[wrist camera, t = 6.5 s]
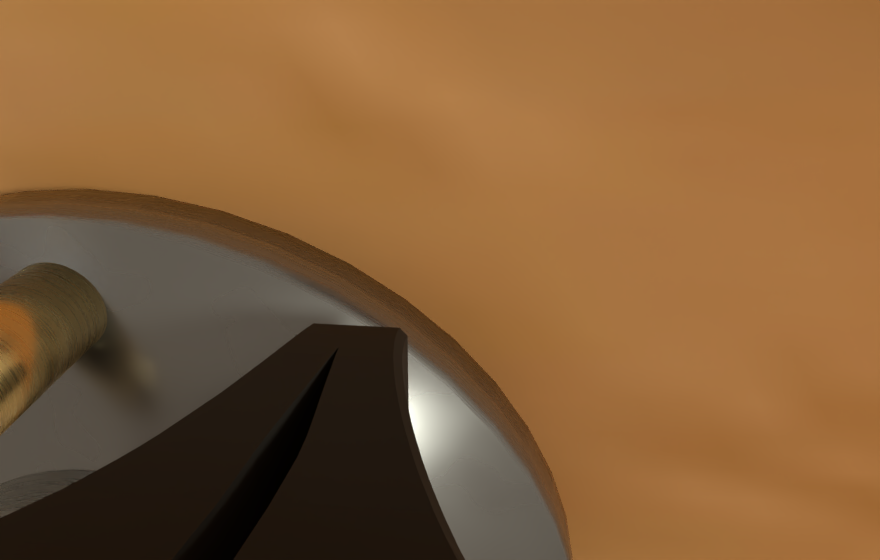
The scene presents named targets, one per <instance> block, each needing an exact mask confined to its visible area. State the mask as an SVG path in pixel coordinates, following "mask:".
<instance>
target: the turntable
mask: <svg viewBox="0 0 880 560" xmlns="http://www.w3.org/2000/svg"><path fill="white" fill-rule="evenodd" d="M313 323H318V324H338V325H357V326H376V327H395V328H400V329H401V330H402V331H403V332H404V333H405V334H406V335H407V336H408V393H409V413H410V418H411V422H412V426H413V430H414V434H415V437H416V441H417V444H418V447H419V450H420V454H421V457H422V460H423V463H424V466H425V469H426V472H427V475H428V477H429V480H430V483H431V485H432V488H433V491H434V493H435V495H436V498H437V500H438V503H439V505H440V507H441V510H442V512H443V515H444V517H445V519H446V521H447V523H448V525H449V528H450V530H451V532H452V534H453V536H454V538H455V540H456V543H457V545H458V547H459V549H460V551H461V553H462V555H463V556H464V558H465V560H573V558H572V551H571V545H570V538H569V532H568V525H567V519H566V514H565V511H564V508H563V505H562V502H561V499H560V496H559V493H558V490H557V487H556V484H555V481H554V478H553V475H552V472H551V470H550V468H549V466H548V465H547V463H546V461H545V459H544V457H543V455H542V453H541V451H540V449H539V447H538V445H537V443H536V442H535V440H534V438H533V436H532V434H531V432H530V430H529V428H528V427H527V425H526V424H525V422H524V421H523V420H522V418H521V417H520V415H519V414H518V413H517V411H516V410H515V409H514V407H513V406H512V404H511V403H510V402H509V400H508V399H507V398H506V396H505V395H504V393H503V392H502V391H501V389H500V388H499V386H498V385H497V384H496V382H495V381H494V380H493V379H492V378H491V377H490V376H489V375H488V374H487V373H486V372H485V371H484V370H483V369H482V368H481V367H480V366H479V365H478V364H477V362H476V361H475V360H474V359H473V358H472V357H471V356H470V355H469V354H468V353H467V352H466V351H465V350H464V349H463V348H462V347H461V346H460V345H459V344H458V342H457V341H456V340H455V339H453V338H452V337H451V336H450V335H448V334H447V333H446V332H445V331H444V330H442V329H441V328H440V327H439V326H437V325H436V324H435V323H434V322H433V321H431V320H430V319H429V318H428V317H426V316H425V315H424V314H423V313H422V312H420V311H419V310H418V309H417V308H415V307H414V306H413V305H412V304H411V303H409V302H408V301H407V300H406V299H404V298H402V297H401V296H399V295H398V294H396V293H395V292H393V291H391V290H390V289H388V288H387V287H385V286H384V285H382V284H380V283H379V282H377V281H376V280H374V279H373V278H371V277H369V276H368V275H366V274H365V273H363V272H362V271H360V270H358V269H357V268H355V267H354V266H352V265H351V264H349V263H347V262H345V261H343V260H341V259H339V258H336V257H334V256H332V255H330V254H328V253H326V252H324V251H322V250H320V249H318V248H316V247H314V246H312V245H310V244H308V243H306V242H303V241H301V240H299V239H297V238H295V237H293V236H291V235H289V234H287V233H284V232H281V231H278V230H275V229H272V228H269V227H267V226H264V225H261V224H258V223H255V222H252V221H249V220H247V219H244V218H241V217H238V216H235V215H232V214H230V213H227V212H224V211H220V210H216V209H211V208H207V207H202V206H198V205H193V204H189V203H185V202H180V201H176V200H171V199H167V198H162V197H158V196H151V195H141V194H131V193H121V192H111V191H101V190H91V189H84V190H51V191H24V192H18V193H13V194H7V195H1V196H0V484H2V483H3V482H6V481H9V480H12V479H15V478H18V477H21V476H24V475H29V474H34V473H39V472H44V471H52V470H67V469H83V470H98V469H100V468H102V467H104V466H106V465H108V464H109V463H111V462H113V461H115V460H117V459H118V458H120V457H122V456H124V455H125V454H127V453H129V452H130V451H132V450H134V449H136V448H137V447H139V446H141V445H142V444H144V443H146V442H147V441H149V440H150V439H152V438H154V437H155V436H157V435H159V434H160V433H162V432H163V431H165V430H166V429H168V428H169V427H170V426H172V425H173V424H175V423H176V422H178V421H179V420H181V419H182V418H184V417H185V416H187V415H188V414H190V413H191V412H193V411H194V410H196V409H197V408H199V407H200V406H202V405H203V404H205V403H206V402H208V401H209V400H211V399H212V398H214V397H215V396H217V395H218V394H220V393H221V392H222V391H224V390H225V389H226V388H228V387H229V386H230V385H232V384H233V383H234V382H236V381H237V380H238V379H240V378H241V377H242V376H244V375H245V374H246V373H248V372H249V371H250V370H252V369H253V368H254V367H256V366H257V365H259V364H260V363H261V362H263V361H264V360H265V359H266V358H268V357H269V356H270V355H272V354H273V353H274V352H275V351H277V350H278V349H279V348H281V347H282V346H283V345H285V344H286V343H287V342H288V341H290V340H291V339H292V338H294V337H295V336H296V335H298V334H299V333H300V332H302V331H303V330H304V329H306V328H307V327H309V326H310V325H312V324H313Z"/></svg>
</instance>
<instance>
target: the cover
mask: <svg viewBox="0 0 880 560" xmlns="http://www.w3.org/2000/svg"><path fill="white" fill-rule="evenodd" d="M95 471H97V470H83V469H67V470H52V471H44V472H39V473H34V474H29V475H24V476H21V477H18V478H15V479H12V480H9V481H6V482H3V483H2V484H0V518H2V517H4V516H6V515H8V514H10V513H12V512H14V511H17V510H19V509H21V508H23V507H25V506H27V505H29V504H31V503H33V502H36V501H38V500H40V499H42V498H44V497H46V496H48V495H50V494H53V493H55V492H57V491H59V490H61V489H63V488H65V487H67V486H69V485H71V484H73V483H75V482H76V481H78V480H80V479H82V478H84V477H86V476H88V475H89V474H91V473H93V472H95Z"/></svg>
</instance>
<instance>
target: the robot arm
mask: <svg viewBox="0 0 880 560" xmlns="http://www.w3.org/2000/svg"><path fill="white" fill-rule="evenodd" d="M0 560H465V558H464V556H463V555H462V553H461V551H460V549H459V547H458V545H457V543H456V540H455V538H454V536H453V534H452V532H451V530H450V528H449V525H448V523H447V521H446V519H445V517H444V515H443V512H442V510H441V507H440V505H439V503H438V500H437V498H436V495H435V493H434V491H433V488H432V485H431V483H430V480H429V477H428V475H427V472H426V469H425V466H424V463H423V460H422V457H421V454H420V450H419V447H418V444H417V441H416V437H415V434H414V430H413V426H412V422H411V418H410V413H409V393H408V336H407V335H406V334H405V333H404V332H403V331H402V330H401V329H400V328H395V327H376V326H357V325H338V324H318V323H313V324H312V325H310V326H309V327H307V328H306V329H304V330H303V331H302V332H300V333H299V334H298V335H296V336H295V337H294V338H292V339H291V340H290V341H288V342H287V343H286V344H285V345H283V346H282V347H281V348H279V349H278V350H277V351H275V352H274V353H273V354H272V355H270V356H269V357H268V358H266V359H265V360H264V361H263V362H261V363H260V364H259V365H257V366H256V367H254V368H253V369H252V370H250V371H249V372H248V373H246V374H245V375H244V376H242V377H241V378H240V379H238V380H237V381H236V382H234V383H233V384H232V385H230V386H229V387H228V388H226V389H225V390H224V391H222V392H221V393H220V394H218V395H217V396H215V397H214V398H212V399H211V400H209V401H208V402H206V403H205V404H203V405H202V406H200V407H199V408H197V409H196V410H194V411H193V412H191V413H190V414H188V415H187V416H185V417H184V418H182V419H181V420H179V421H178V422H176V423H175V424H173V425H172V426H170V427H169V428H168V429H166V430H165V431H163V432H162V433H160V434H159V435H157V436H155V437H154V438H152V439H150V440H149V441H147V442H146V443H144V444H142V445H141V446H139V447H137V448H136V449H134V450H132V451H130V452H129V453H127V454H125V455H124V456H122V457H120V458H118V459H117V460H115V461H113V462H111V463H109V464H108V465H106V466H104V467H102V468H100V469H98V470H97V471H95V472H93V473H91V474H89V475H88V476H86V477H84V478H82V479H80V480H78V481H76V482H75V483H73V484H71V485H69V486H67V487H65V488H63V489H61V490H59V491H57V492H55V493H53V494H50V495H48V496H46V497H44V498H42V499H40V500H38V501H36V502H33V503H31V504H29V505H27V506H25V507H23V508H21V509H19V510H17V511H14V512H12V513H10V514H8V515H6V516H4V517H2V518H0Z"/></svg>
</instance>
